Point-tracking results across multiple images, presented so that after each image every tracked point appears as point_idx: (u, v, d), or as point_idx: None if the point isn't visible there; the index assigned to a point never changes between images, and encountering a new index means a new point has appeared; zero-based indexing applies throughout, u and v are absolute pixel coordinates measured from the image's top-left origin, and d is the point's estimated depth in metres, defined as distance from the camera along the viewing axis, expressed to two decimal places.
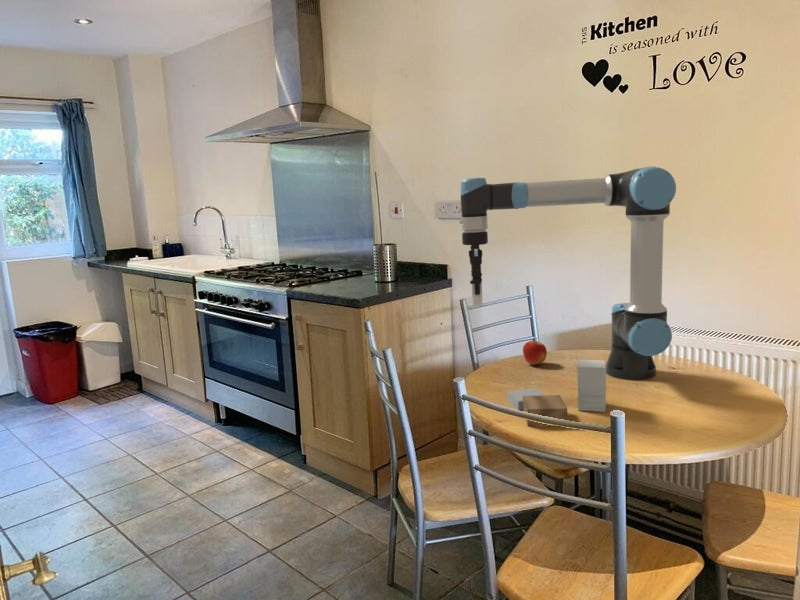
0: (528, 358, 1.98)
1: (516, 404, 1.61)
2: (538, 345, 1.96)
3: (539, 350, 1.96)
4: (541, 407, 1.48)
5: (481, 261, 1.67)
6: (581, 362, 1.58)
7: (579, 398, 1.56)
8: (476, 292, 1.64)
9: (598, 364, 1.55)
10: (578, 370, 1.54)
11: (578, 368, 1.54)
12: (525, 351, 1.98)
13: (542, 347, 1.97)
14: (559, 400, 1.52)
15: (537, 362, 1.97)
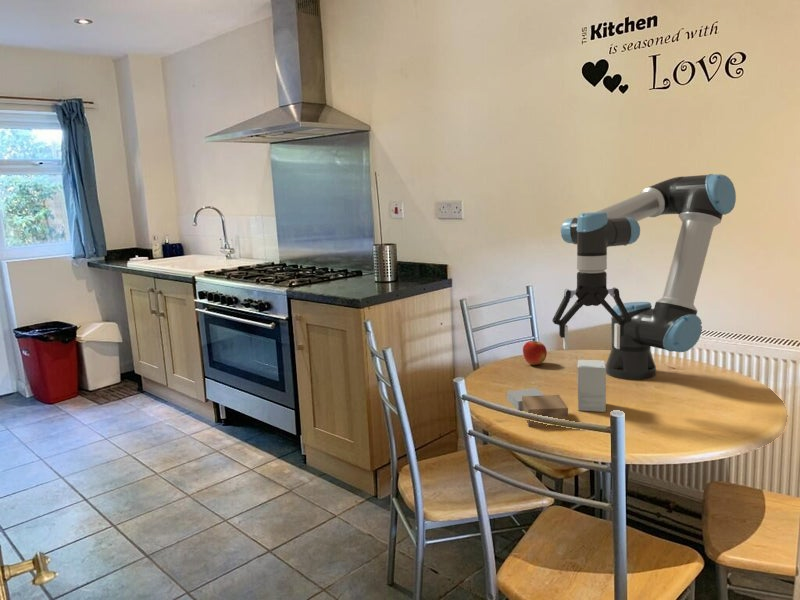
0: (528, 358, 1.98)
1: (516, 404, 1.61)
2: (538, 345, 1.96)
3: (539, 350, 1.96)
4: (542, 407, 1.48)
5: (577, 304, 1.52)
6: (581, 362, 1.58)
7: (579, 398, 1.56)
8: (559, 334, 1.56)
9: (598, 364, 1.55)
10: (578, 370, 1.54)
11: (578, 368, 1.54)
12: (525, 351, 1.98)
13: (542, 347, 1.97)
14: (559, 399, 1.52)
15: (537, 362, 1.97)
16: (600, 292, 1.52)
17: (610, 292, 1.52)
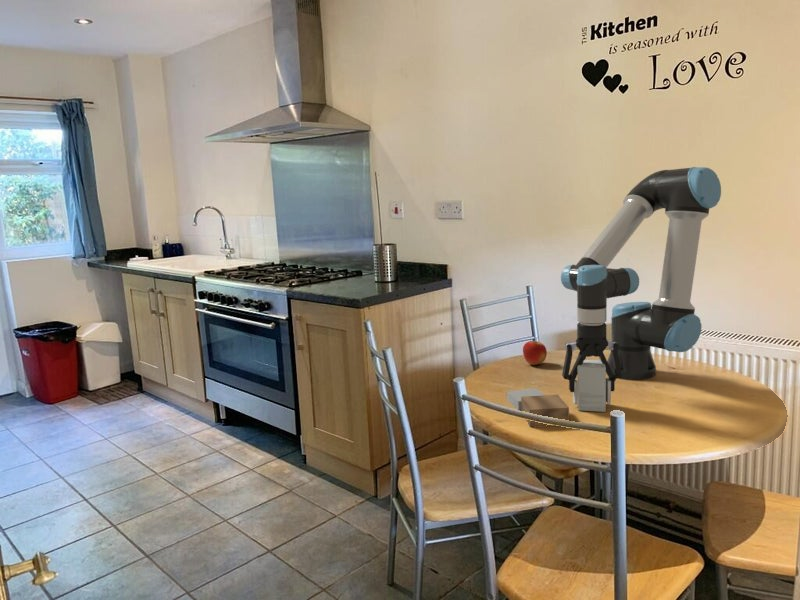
0: (528, 358, 1.98)
1: (516, 404, 1.61)
2: (538, 345, 1.96)
3: (539, 350, 1.96)
4: (543, 407, 1.47)
5: (580, 357, 1.55)
6: None
7: (579, 398, 1.56)
8: (569, 388, 1.58)
9: (598, 364, 1.55)
10: (578, 370, 1.54)
11: (578, 368, 1.54)
12: (525, 351, 1.98)
13: (542, 347, 1.97)
14: (559, 399, 1.53)
15: (537, 362, 1.97)
16: (600, 342, 1.54)
17: (609, 345, 1.55)
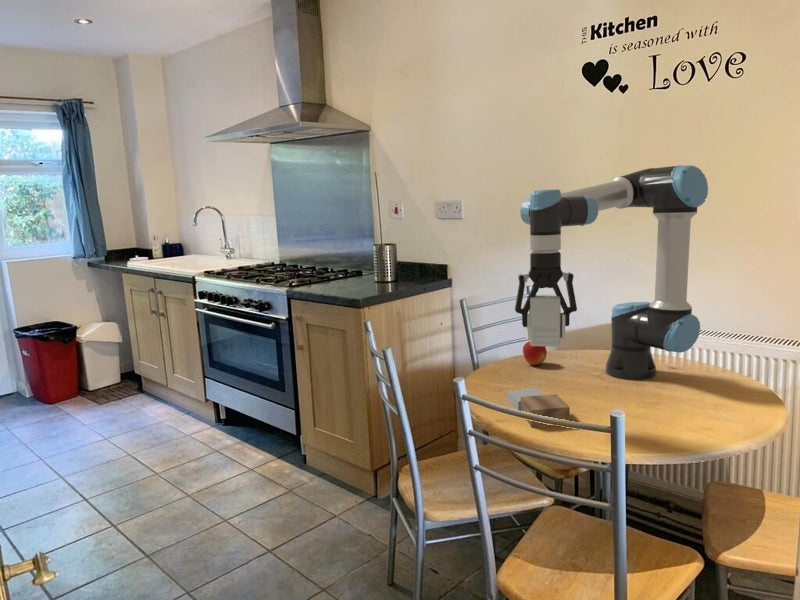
0: (528, 358, 1.98)
1: (516, 404, 1.61)
2: None
3: (539, 350, 1.96)
4: (544, 407, 1.47)
5: (533, 289, 1.45)
6: None
7: (532, 332, 1.46)
8: (522, 323, 1.49)
9: (552, 296, 1.45)
10: (531, 302, 1.45)
11: (531, 300, 1.45)
12: (525, 351, 1.98)
13: (542, 347, 1.97)
14: (558, 399, 1.53)
15: (537, 362, 1.97)
16: (554, 272, 1.45)
17: (564, 276, 1.45)
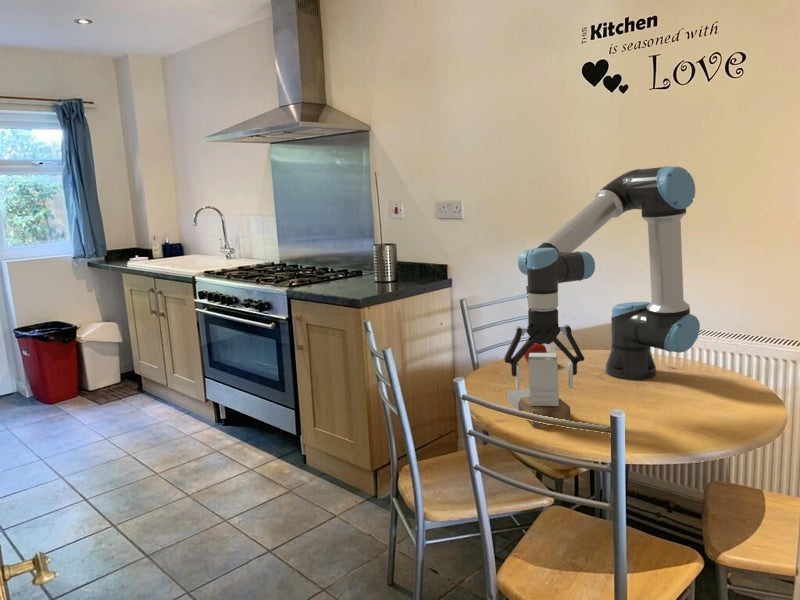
0: None
1: (516, 404, 1.61)
2: (538, 345, 1.96)
3: (539, 350, 1.96)
4: (545, 407, 1.47)
5: (528, 343, 1.47)
6: (532, 355, 1.51)
7: (531, 393, 1.48)
8: (511, 372, 1.51)
9: (549, 356, 1.48)
10: (529, 363, 1.47)
11: (529, 361, 1.47)
12: None
13: (542, 347, 1.97)
14: None
15: None
16: (552, 330, 1.47)
17: (562, 330, 1.47)
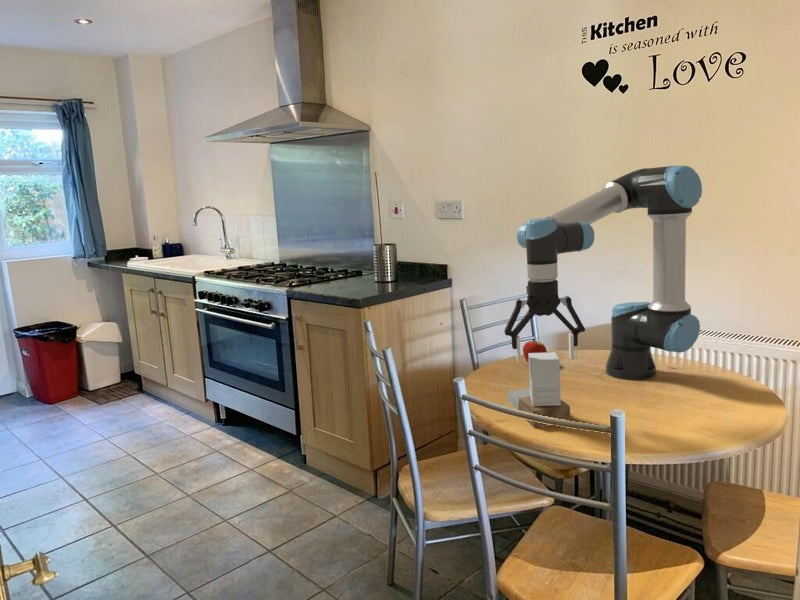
0: (528, 358, 1.98)
1: (516, 404, 1.61)
2: (538, 345, 1.96)
3: (539, 350, 1.96)
4: (545, 407, 1.47)
5: (528, 314, 1.46)
6: (533, 355, 1.51)
7: (533, 393, 1.48)
8: None
9: (550, 356, 1.48)
10: (531, 363, 1.47)
11: (531, 361, 1.47)
12: (525, 351, 1.98)
13: (542, 347, 1.97)
14: None
15: None
16: (552, 301, 1.45)
17: (562, 301, 1.46)
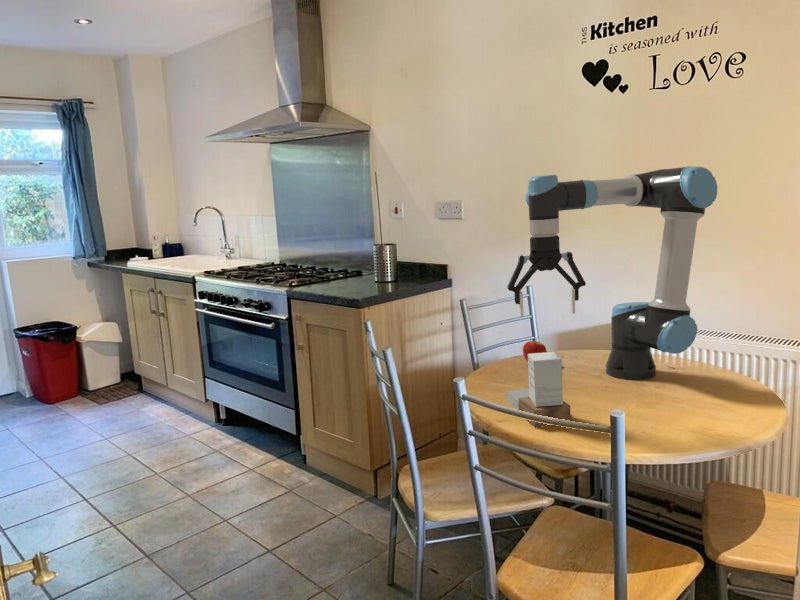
0: None
1: (516, 404, 1.61)
2: (538, 345, 1.96)
3: (539, 350, 1.96)
4: (546, 407, 1.47)
5: (531, 269, 1.50)
6: (533, 355, 1.50)
7: (536, 394, 1.47)
8: (515, 301, 1.54)
9: (551, 356, 1.48)
10: (534, 364, 1.46)
11: (534, 362, 1.46)
12: (525, 351, 1.98)
13: (542, 347, 1.97)
14: None
15: None
16: (553, 256, 1.50)
17: (564, 256, 1.50)
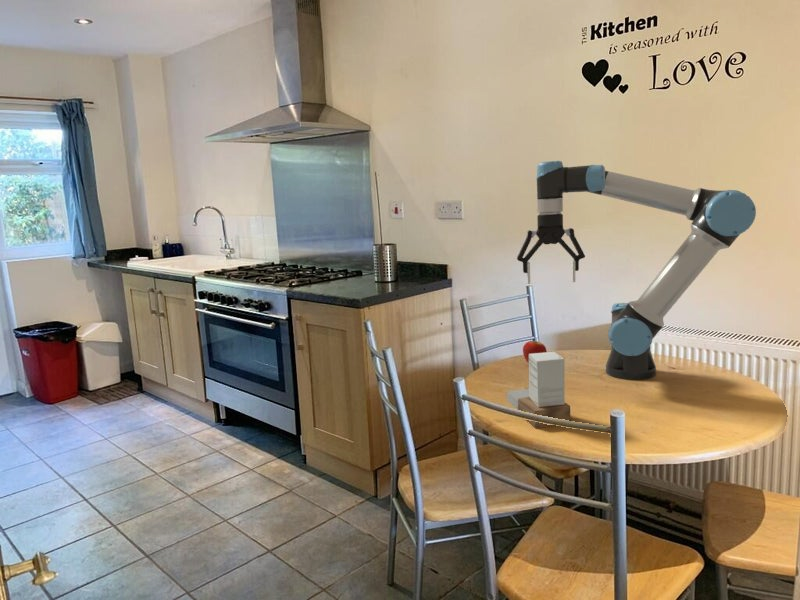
0: (528, 358, 1.98)
1: (516, 404, 1.61)
2: (538, 345, 1.96)
3: (539, 350, 1.96)
4: (546, 407, 1.47)
5: (537, 243, 1.74)
6: (535, 355, 1.50)
7: (539, 394, 1.47)
8: (523, 270, 1.78)
9: (553, 356, 1.49)
10: (538, 364, 1.46)
11: (538, 362, 1.46)
12: (525, 351, 1.98)
13: (542, 347, 1.97)
14: None
15: None
16: (557, 232, 1.73)
17: (566, 232, 1.74)
